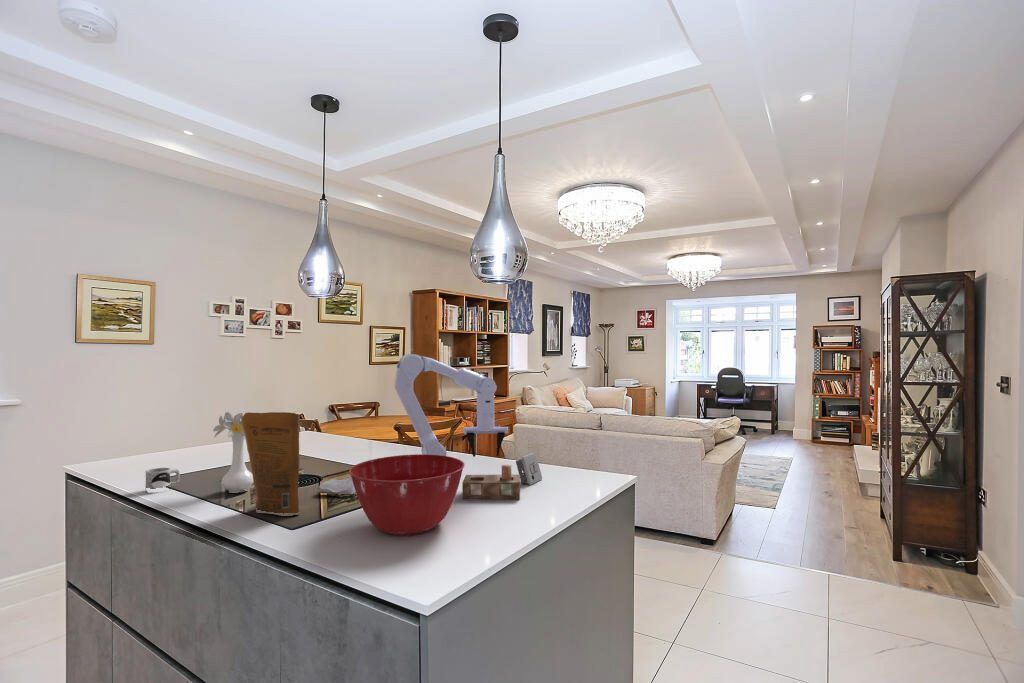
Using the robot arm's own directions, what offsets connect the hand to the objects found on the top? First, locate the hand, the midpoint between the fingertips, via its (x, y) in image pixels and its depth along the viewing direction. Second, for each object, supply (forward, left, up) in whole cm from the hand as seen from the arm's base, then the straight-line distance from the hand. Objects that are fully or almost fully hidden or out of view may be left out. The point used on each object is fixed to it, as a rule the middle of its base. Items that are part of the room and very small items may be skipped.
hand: (486, 455), depth 173 cm
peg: (+7, -11, -9) cm, 16 cm away
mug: (-105, -2, -10) cm, 106 cm away
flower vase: (-78, -5, -10) cm, 79 cm away
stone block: (-46, -7, -10) cm, 47 cm away
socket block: (+3, -10, -10) cm, 14 cm away
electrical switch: (+14, +6, -10) cm, 18 cm away
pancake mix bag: (-56, -28, -10) cm, 64 cm away
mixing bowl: (-17, -39, -10) cm, 44 cm away
